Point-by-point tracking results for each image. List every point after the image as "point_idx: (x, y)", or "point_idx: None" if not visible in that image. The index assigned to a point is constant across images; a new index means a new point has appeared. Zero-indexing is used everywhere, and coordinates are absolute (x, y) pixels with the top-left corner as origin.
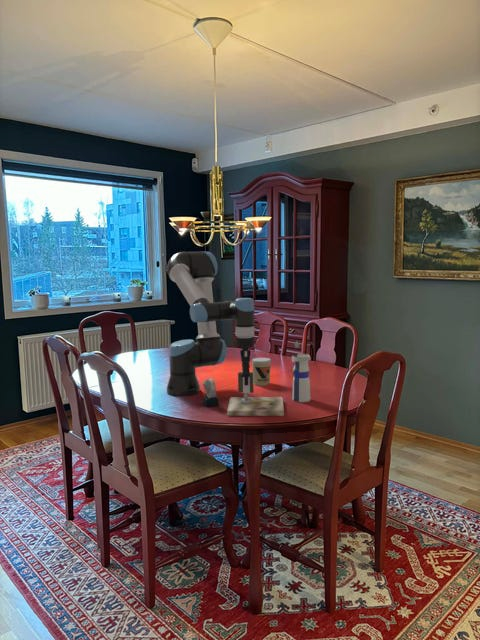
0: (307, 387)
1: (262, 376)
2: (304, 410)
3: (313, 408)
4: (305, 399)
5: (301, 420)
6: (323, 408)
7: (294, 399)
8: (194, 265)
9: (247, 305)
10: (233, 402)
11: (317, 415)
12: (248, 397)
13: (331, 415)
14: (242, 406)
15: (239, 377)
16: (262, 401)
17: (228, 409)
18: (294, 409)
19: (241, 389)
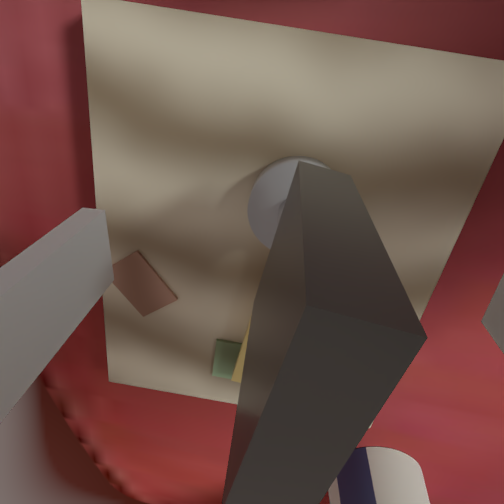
0: None
1: None
2: (199, 445)
3: (224, 476)
4: (328, 491)
5: (59, 404)
6: (220, 501)
7: (357, 457)
8: None
9: None
10: (333, 84)
11: (129, 464)
12: (446, 239)
13: (131, 496)
14: (199, 158)
15: (295, 271)
16: (250, 317)
17: (117, 11)
18: (218, 418)
19: (286, 209)
